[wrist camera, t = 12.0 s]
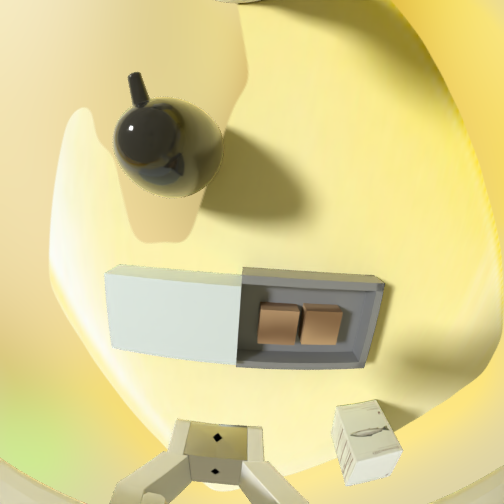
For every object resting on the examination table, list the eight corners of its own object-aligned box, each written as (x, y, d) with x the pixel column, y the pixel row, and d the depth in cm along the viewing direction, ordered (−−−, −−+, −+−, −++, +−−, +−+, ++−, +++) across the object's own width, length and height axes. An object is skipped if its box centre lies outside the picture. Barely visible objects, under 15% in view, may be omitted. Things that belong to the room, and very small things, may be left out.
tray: (242, 266, 35) (242, 275, 31) (373, 275, 35) (384, 283, 32) (236, 352, 37) (235, 366, 34) (356, 355, 38) (364, 368, 34)
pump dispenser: (217, 104, 31) (194, 45, 16) (234, 186, 33) (222, 180, 18) (137, 126, 31) (72, 92, 16) (152, 206, 33) (88, 218, 18)
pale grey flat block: (119, 264, 35) (104, 273, 30) (242, 274, 35) (241, 286, 31) (124, 332, 37) (112, 347, 32) (237, 346, 37) (235, 364, 33)
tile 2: (342, 312, 33) (337, 304, 35) (306, 310, 33) (303, 303, 35) (335, 344, 34) (330, 335, 36) (301, 344, 34) (298, 335, 36)
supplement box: (376, 397, 39) (405, 449, 27) (367, 427, 41) (390, 477, 29) (335, 404, 39) (356, 462, 27) (328, 433, 41) (345, 488, 29)
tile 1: (260, 301, 35) (261, 309, 33) (296, 303, 35) (299, 311, 33) (257, 333, 36) (257, 343, 33) (291, 335, 36) (294, 345, 34)
